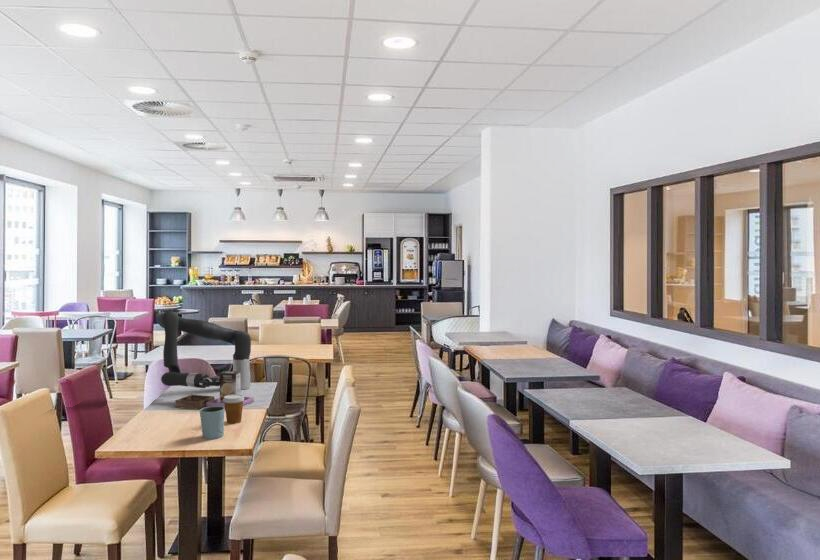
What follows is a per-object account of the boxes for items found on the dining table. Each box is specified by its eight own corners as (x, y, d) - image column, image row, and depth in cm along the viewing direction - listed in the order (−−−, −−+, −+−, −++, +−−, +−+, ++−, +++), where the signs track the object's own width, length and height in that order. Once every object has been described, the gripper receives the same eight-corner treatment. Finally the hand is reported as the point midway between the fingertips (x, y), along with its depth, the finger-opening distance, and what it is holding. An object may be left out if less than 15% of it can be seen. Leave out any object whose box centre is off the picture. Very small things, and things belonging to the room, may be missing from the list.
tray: (225, 399, 319) (225, 395, 319) (253, 402, 314) (253, 397, 314) (206, 407, 302) (206, 402, 302) (235, 410, 297) (235, 405, 297)
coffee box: (219, 404, 306) (218, 373, 305) (224, 400, 312) (224, 370, 311) (236, 404, 304) (235, 373, 304) (241, 401, 311) (240, 371, 310)
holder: (191, 401, 316) (191, 394, 315) (214, 403, 311) (214, 396, 311) (175, 407, 303) (175, 400, 303) (198, 409, 299) (198, 402, 299)
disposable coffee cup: (218, 423, 274) (218, 397, 274) (233, 418, 283) (233, 393, 282) (234, 425, 270) (233, 399, 269) (249, 420, 278) (248, 395, 278)
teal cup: (229, 436, 255) (229, 408, 254) (207, 441, 247) (207, 413, 247) (217, 431, 261) (216, 404, 261) (195, 436, 254) (195, 409, 253)
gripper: (188, 375, 306) (216, 377, 302) (205, 370, 320) (232, 372, 315) (189, 390, 307) (216, 392, 302) (206, 384, 320) (232, 386, 316)
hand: (224, 382), depth 309 cm, fingers open, 8 cm apart
